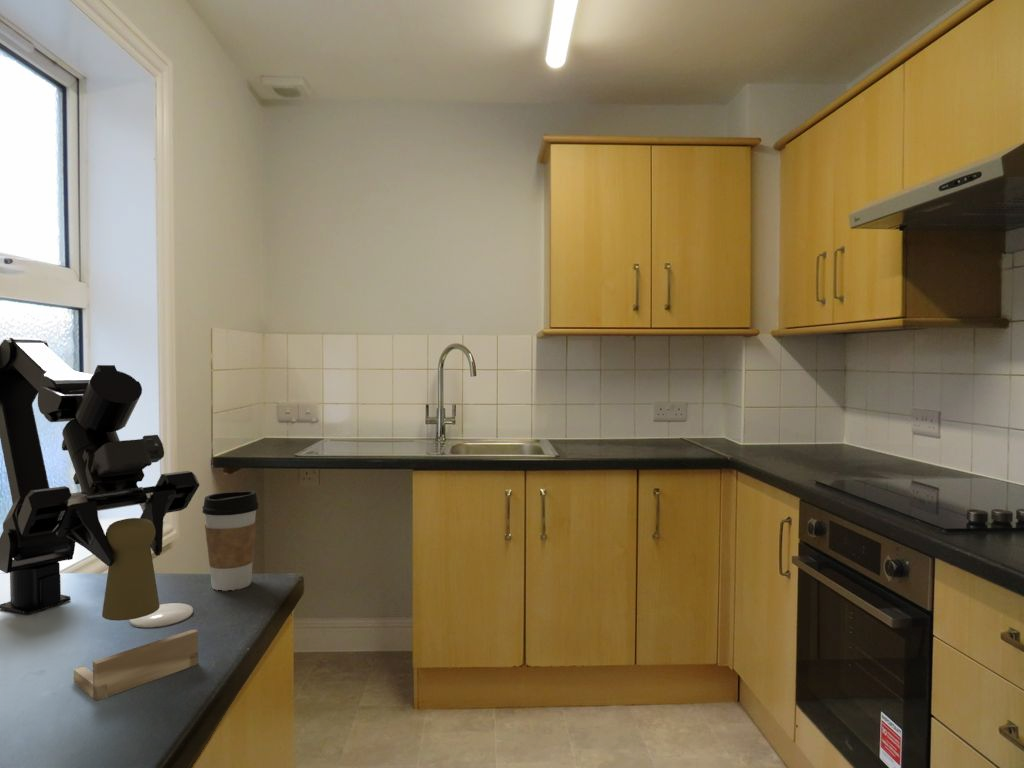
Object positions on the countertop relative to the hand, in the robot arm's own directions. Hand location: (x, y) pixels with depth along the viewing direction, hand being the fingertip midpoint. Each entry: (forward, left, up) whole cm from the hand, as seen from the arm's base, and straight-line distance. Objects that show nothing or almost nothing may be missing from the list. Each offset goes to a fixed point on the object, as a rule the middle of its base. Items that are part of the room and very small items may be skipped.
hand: (135, 558), depth 78 cm
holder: (+1, -1, -13) cm, 13 cm away
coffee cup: (-12, +26, -13) cm, 32 cm away
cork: (-1, 0, -7) cm, 7 cm away
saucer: (-11, +12, -13) cm, 21 cm away
